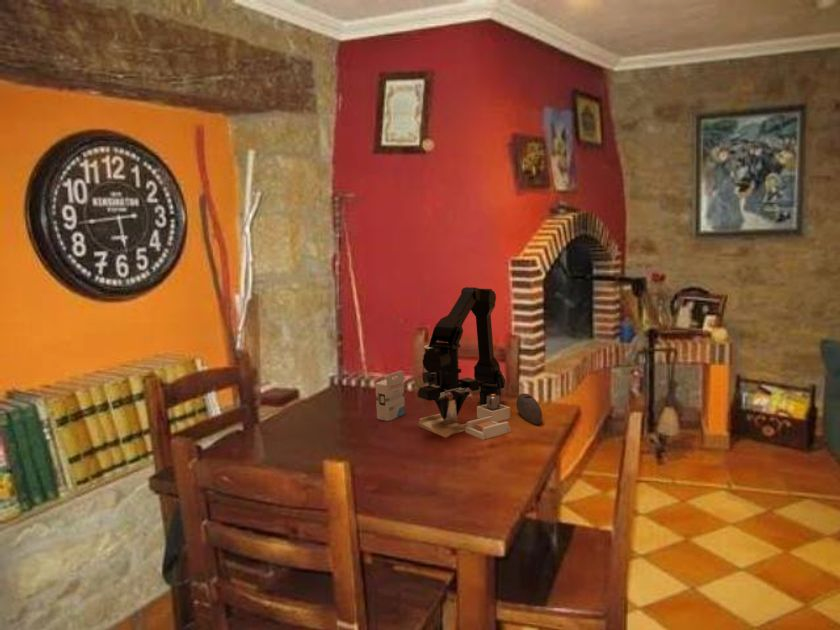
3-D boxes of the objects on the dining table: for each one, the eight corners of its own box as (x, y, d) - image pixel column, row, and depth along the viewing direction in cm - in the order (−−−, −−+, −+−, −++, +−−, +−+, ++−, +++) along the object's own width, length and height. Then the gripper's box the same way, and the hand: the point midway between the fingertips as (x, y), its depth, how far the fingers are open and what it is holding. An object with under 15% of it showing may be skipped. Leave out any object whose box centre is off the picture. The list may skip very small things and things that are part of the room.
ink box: (393, 412, 212) (391, 367, 210) (405, 414, 209) (403, 369, 207) (376, 419, 205) (374, 373, 203) (388, 421, 202) (386, 375, 200)
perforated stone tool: (547, 427, 192) (547, 405, 191) (530, 429, 191) (530, 406, 190) (531, 413, 207) (531, 391, 206) (515, 414, 206) (515, 392, 205)
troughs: (442, 420, 202) (441, 413, 202) (469, 431, 191) (469, 423, 191) (418, 425, 197) (418, 418, 197) (445, 437, 186) (444, 430, 186)
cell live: (451, 419, 194) (450, 394, 193) (459, 422, 191) (459, 397, 189) (440, 421, 192) (439, 396, 190) (448, 425, 188) (448, 399, 187)
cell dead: (494, 415, 204) (493, 391, 203) (502, 418, 200) (502, 394, 199) (484, 417, 202) (483, 393, 200) (492, 420, 198) (492, 396, 197)
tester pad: (488, 428, 191) (488, 421, 191) (499, 432, 187) (499, 425, 187) (476, 431, 189) (475, 424, 188) (486, 436, 185) (486, 428, 184)
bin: (494, 414, 206) (494, 402, 205) (510, 420, 200) (510, 407, 200) (477, 419, 202) (476, 406, 201) (492, 424, 196) (492, 411, 196)
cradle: (491, 426, 194) (491, 415, 194) (510, 433, 188) (509, 422, 187) (465, 433, 189) (465, 422, 188) (483, 441, 182) (483, 429, 182)
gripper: (457, 356, 200) (458, 405, 203) (406, 365, 190) (408, 417, 192) (480, 362, 191) (481, 413, 194) (428, 372, 181) (430, 426, 183)
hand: (449, 417), depth 191 cm, fingers closed on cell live, 4 cm apart
